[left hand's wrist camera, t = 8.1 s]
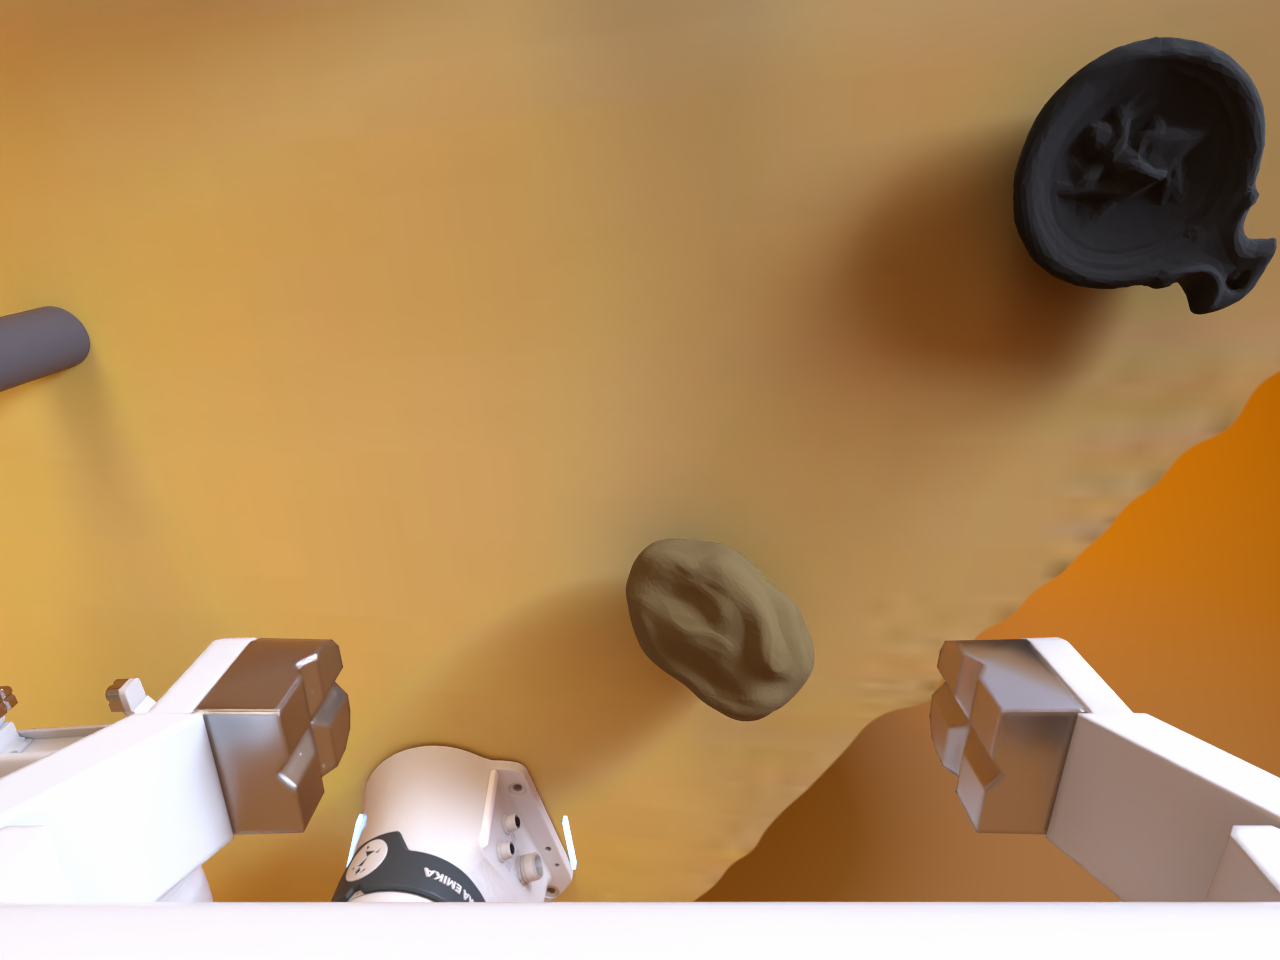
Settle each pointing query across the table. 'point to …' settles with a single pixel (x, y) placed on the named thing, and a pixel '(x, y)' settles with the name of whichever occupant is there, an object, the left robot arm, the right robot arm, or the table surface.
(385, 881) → the right robot arm
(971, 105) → the table surface
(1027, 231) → the oil lamp
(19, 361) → the jar
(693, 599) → the decorative stone
